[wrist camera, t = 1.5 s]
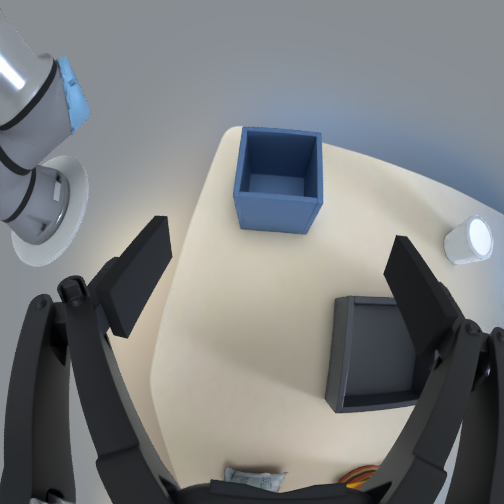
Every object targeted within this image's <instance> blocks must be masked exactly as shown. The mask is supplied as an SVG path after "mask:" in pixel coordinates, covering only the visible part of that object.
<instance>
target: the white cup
mask: <svg viewBox="0 0 504 504" xmlns="http://www.w3.org/2000/svg"><path fill="white" fill-rule="evenodd" d="M444 250H445V253H446V256H447V258H448V259H449V260H450V261H451V262H452V263H454V264H463V263H469V262H475V261H480V260H486V259H487V258H488V257H490V255H491V253H492V250H493V237H492V233H491V230H490V228H489V225H488V224H487V223H486V221H485V220H484V219H483V218H481V217H480V216H477V215H473V216H472V217H470V218H468V219H467V220H466V221H464V222H463V223H462V224H460V225H459V226H458V227H456V228H455V229H453V230H452V231H451V232H449V233H448V234H447V235H446V237H445V240H444Z"/></svg>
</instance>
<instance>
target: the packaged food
mask: <svg viewBox="0 0 504 504" xmlns="http://www.w3.org/2000/svg"><path fill="white" fill-rule="evenodd" d="M287 473H288V472H283V473H280V474H276V473H275V474H269V473H262V474H258V473H257V474H256V473H243V472H241V471H235V470H233V469H232V468H229V467H226V468H225V474H224V481H227V482H235V483H245V484H248V485H251V486H255V487H258V488H262V489H265V490H269V491H273V492H278V491H279V488H280V485H281V483H282V481H283V479H284V477H285V475H286V474H287Z"/></svg>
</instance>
